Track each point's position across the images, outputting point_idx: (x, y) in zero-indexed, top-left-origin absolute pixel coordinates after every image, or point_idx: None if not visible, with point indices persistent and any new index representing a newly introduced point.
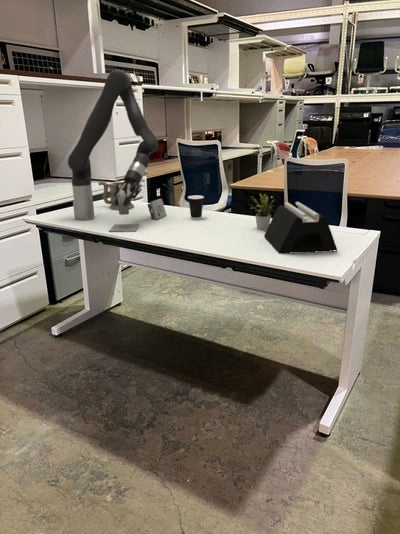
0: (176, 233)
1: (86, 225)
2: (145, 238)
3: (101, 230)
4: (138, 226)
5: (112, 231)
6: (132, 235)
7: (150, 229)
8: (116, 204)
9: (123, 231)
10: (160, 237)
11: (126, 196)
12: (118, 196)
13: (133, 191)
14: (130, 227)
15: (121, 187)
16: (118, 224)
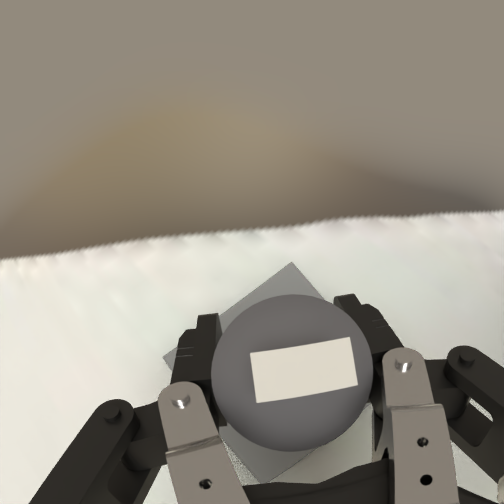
0: (4, 420)
1: (487, 276)
2: (54, 288)
3: (354, 260)
4: (235, 452)
5: (276, 275)
6: (130, 291)
7: None
8: None
9: (222, 314)
10: (16, 335)
11: (219, 396)
12: (341, 328)
13: (87, 468)
14: None
15: (452, 466)
16: None
